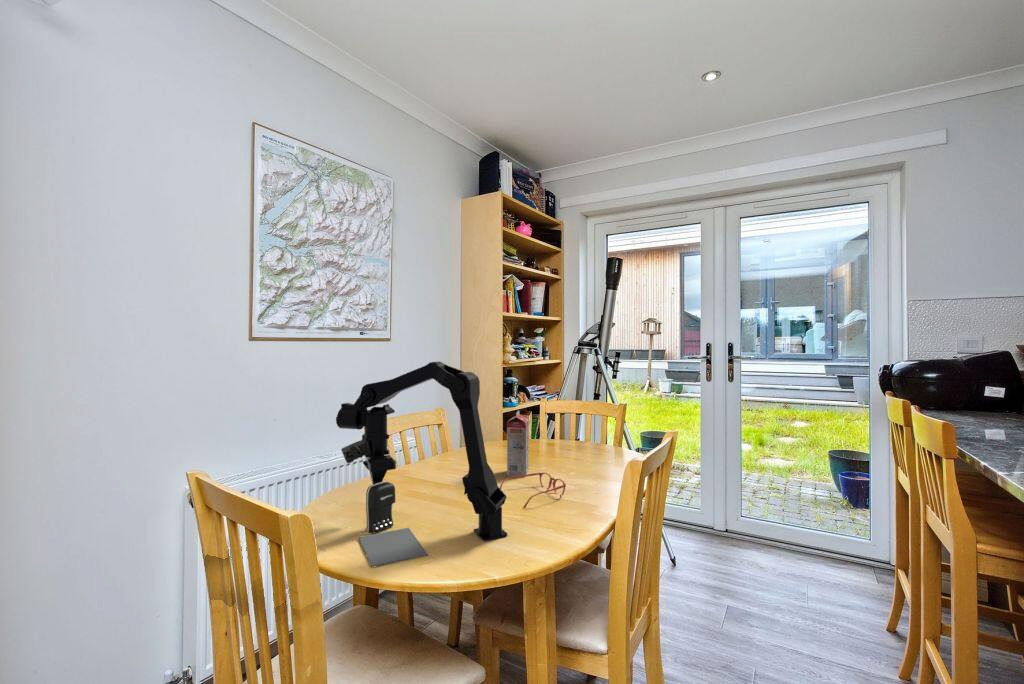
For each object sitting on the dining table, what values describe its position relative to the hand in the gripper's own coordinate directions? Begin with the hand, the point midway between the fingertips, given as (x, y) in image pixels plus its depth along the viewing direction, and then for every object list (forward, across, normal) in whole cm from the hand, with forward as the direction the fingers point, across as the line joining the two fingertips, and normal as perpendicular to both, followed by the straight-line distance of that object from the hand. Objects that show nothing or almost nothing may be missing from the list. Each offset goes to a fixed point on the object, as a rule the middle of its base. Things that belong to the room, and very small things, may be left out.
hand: (376, 489), depth 124 cm
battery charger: (+8, +7, 0) cm, 11 cm away
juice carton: (+8, -20, +53) cm, 57 cm away
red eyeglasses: (+9, +2, +46) cm, 47 cm away
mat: (+8, +18, 0) cm, 20 cm away
